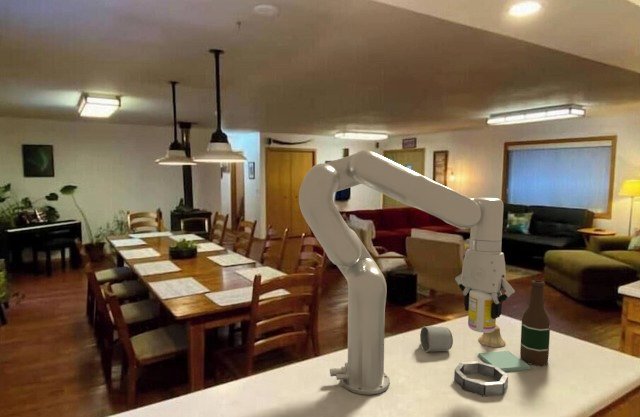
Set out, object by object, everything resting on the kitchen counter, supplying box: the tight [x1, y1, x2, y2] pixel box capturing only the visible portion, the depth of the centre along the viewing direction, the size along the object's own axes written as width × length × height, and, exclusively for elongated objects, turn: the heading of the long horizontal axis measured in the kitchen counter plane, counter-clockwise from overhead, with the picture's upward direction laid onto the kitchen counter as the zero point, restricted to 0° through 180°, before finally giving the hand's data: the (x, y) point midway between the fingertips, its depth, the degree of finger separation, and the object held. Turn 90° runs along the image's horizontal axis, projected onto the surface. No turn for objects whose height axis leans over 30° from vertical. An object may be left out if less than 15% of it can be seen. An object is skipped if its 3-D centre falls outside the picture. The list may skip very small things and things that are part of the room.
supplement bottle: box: [467, 289, 497, 334], centre depth 107 cm, size 7×7×13 cm
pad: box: [477, 350, 531, 372], centre depth 121 cm, size 10×10×1 cm
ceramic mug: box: [419, 325, 454, 353], centre depth 130 cm, size 11×8×8 cm
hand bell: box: [478, 324, 507, 348], centre depth 134 cm, size 8×8×16 cm
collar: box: [453, 360, 509, 398], centre depth 109 cm, size 12×12×3 cm
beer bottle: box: [519, 279, 551, 367], centre depth 121 cm, size 8×8×24 cm
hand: (482, 313), depth 107 cm, fingers closed on supplement bottle, 6 cm apart
